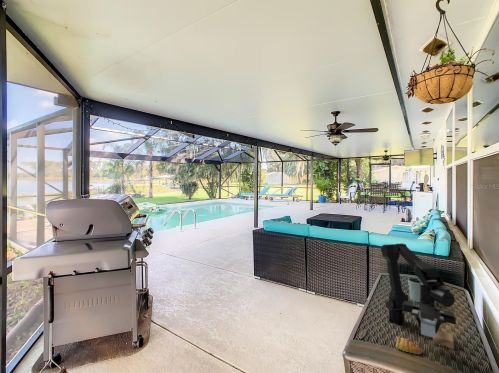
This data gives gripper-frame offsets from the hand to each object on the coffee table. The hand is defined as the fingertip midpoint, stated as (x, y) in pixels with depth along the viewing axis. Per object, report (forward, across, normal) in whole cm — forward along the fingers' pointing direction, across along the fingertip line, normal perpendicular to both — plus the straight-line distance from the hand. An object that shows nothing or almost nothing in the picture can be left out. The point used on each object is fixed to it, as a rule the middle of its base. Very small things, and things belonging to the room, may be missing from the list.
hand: (428, 330), depth 108 cm
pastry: (+8, -8, -7) cm, 13 cm away
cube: (+1, 0, 0) cm, 1 cm away
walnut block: (+7, +5, +8) cm, 12 cm away
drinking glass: (+7, -7, +49) cm, 50 cm away
